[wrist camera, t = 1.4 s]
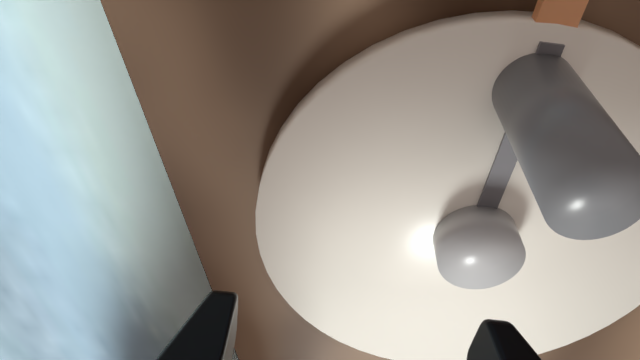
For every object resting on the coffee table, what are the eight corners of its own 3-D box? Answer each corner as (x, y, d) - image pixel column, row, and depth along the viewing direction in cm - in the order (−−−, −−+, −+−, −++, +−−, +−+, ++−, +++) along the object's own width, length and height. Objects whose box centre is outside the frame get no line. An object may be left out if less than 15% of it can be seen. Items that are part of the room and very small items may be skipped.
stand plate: (253, 364, 30) (243, 435, 27) (101, -58, 17) (45, -17, 14) (680, 339, 27) (725, 415, 24) (891, -176, 14) (1049, -161, 11)
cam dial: (586, 363, 26) (644, 503, 21) (249, 328, 25) (227, 466, 20) (844, -3, 15) (1085, 106, 10) (277, -81, 15) (244, -4, 10)
